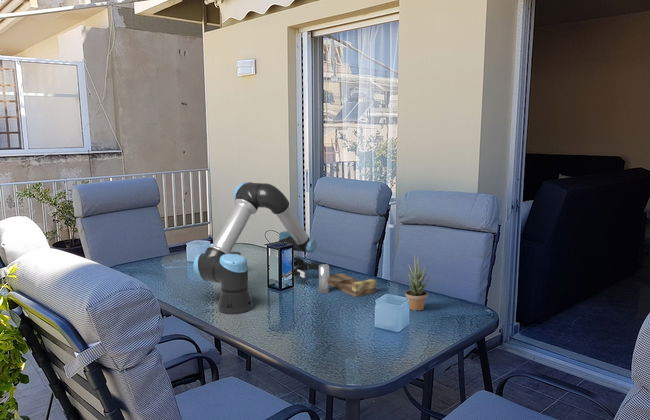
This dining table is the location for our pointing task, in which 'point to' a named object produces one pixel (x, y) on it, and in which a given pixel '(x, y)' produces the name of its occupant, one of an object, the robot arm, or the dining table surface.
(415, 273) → the potted plant
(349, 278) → the jig bar
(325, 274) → the steel sleeve
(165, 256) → the dining table surface
